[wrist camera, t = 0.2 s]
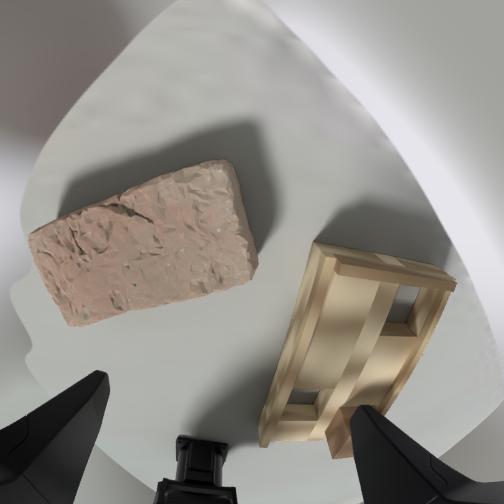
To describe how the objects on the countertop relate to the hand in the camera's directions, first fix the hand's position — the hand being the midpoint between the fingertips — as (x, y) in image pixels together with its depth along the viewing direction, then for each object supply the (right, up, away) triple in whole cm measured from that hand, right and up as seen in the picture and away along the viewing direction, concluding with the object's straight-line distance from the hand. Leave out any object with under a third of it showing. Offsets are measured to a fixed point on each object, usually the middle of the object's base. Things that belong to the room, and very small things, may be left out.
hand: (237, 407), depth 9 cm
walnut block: (+11, -13, +18) cm, 25 cm away
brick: (-8, +6, +13) cm, 17 cm away
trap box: (+10, -5, +18) cm, 21 cm away
